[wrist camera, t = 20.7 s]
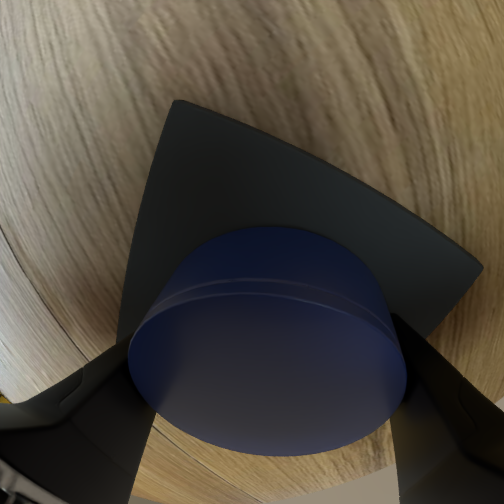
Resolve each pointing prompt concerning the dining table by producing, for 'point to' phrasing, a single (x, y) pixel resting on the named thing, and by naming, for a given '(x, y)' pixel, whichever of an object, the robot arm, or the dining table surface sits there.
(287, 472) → the dining table surface
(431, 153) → the dining table surface
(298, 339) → the jar lid
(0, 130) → the dining table surface
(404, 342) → the robot arm
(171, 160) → the mat
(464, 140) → the dining table surface
